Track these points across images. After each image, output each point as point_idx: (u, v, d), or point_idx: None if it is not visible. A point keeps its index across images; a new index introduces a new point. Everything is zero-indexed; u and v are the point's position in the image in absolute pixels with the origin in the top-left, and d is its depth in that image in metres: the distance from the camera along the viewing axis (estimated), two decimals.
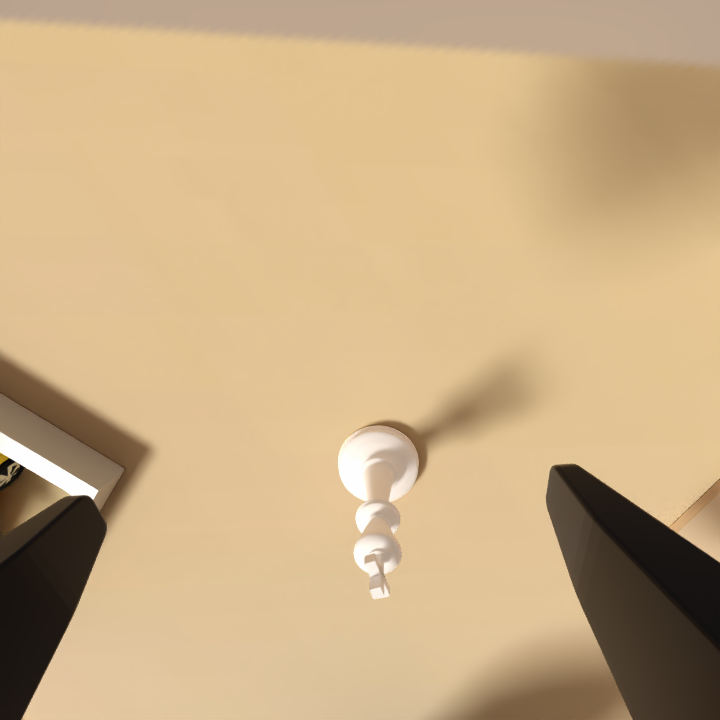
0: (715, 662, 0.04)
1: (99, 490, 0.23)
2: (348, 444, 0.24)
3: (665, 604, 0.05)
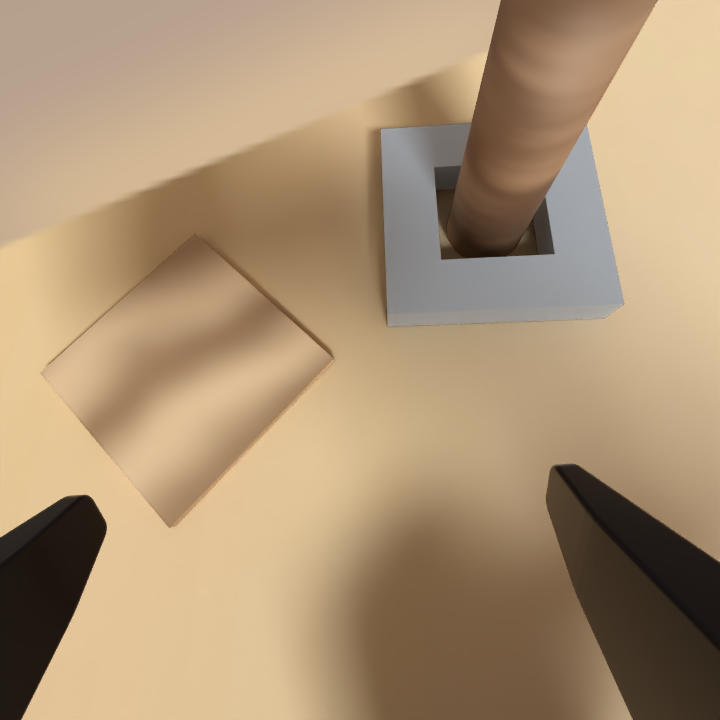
0: (715, 662, 0.04)
1: None
2: None
3: (665, 604, 0.05)
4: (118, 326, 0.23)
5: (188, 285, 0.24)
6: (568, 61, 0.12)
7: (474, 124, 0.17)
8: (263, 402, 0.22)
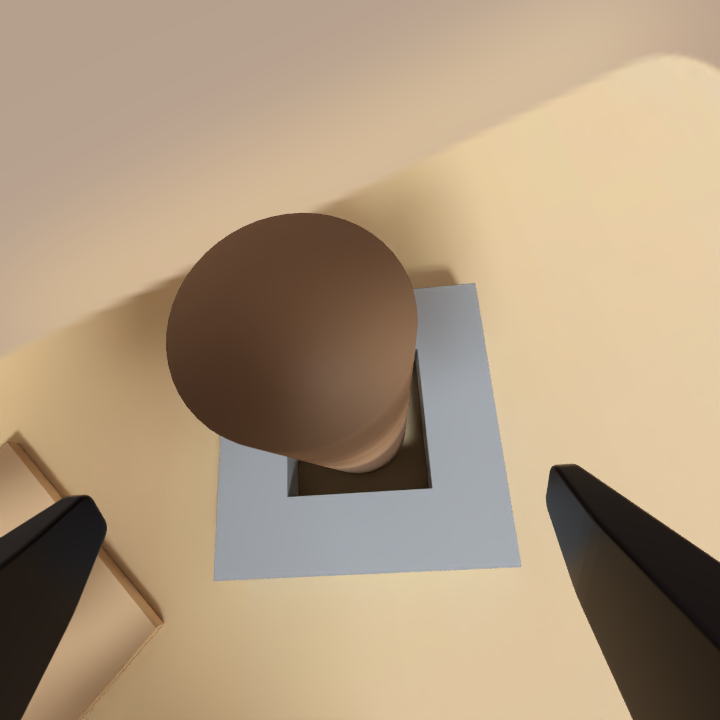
0: (715, 662, 0.04)
1: None
2: None
3: (665, 604, 0.05)
4: None
5: None
6: (280, 454, 0.07)
7: None
8: (61, 697, 0.16)
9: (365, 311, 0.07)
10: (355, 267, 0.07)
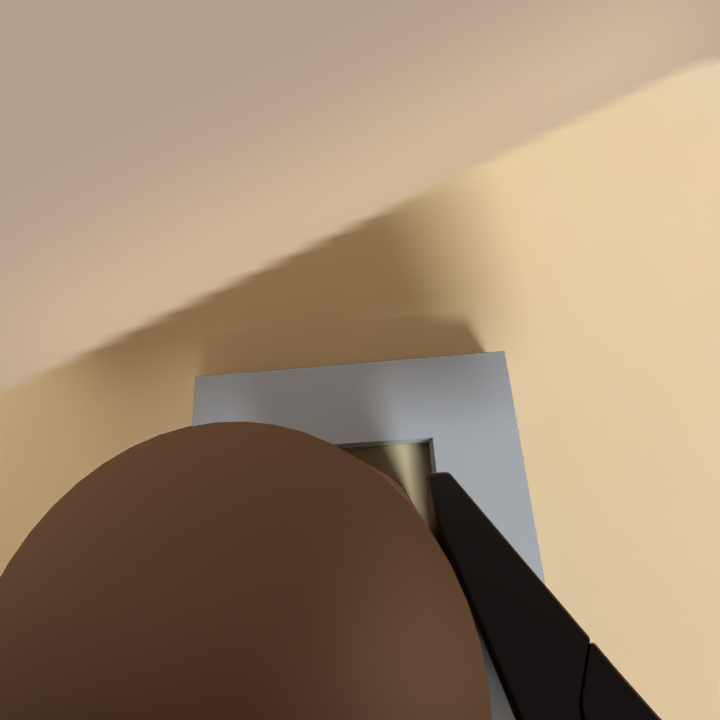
0: (489, 668, 0.04)
1: None
2: None
3: None
4: None
5: None
6: None
7: None
8: None
9: (375, 686, 0.03)
10: (352, 564, 0.03)
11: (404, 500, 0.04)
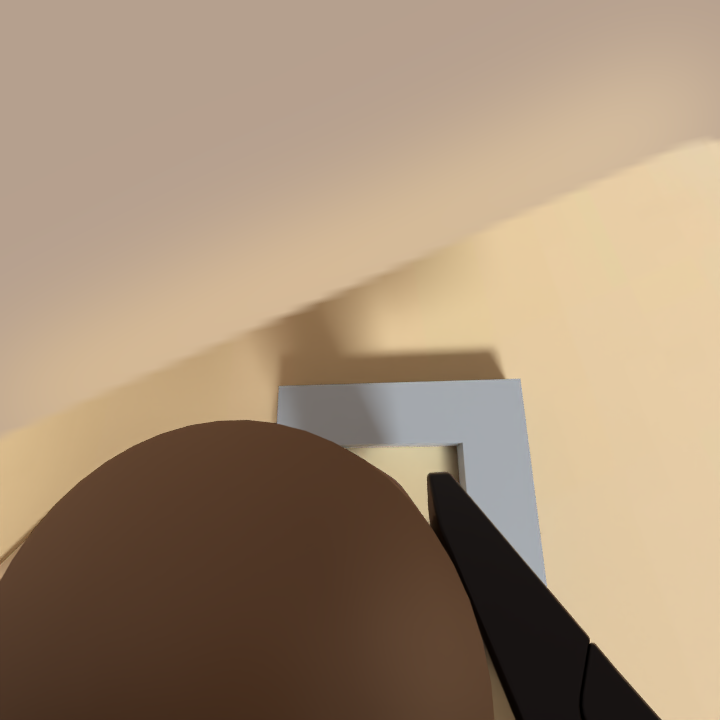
0: (488, 668, 0.04)
1: None
2: None
3: None
4: None
5: None
6: None
7: None
8: None
9: (378, 686, 0.03)
10: (354, 563, 0.03)
11: (406, 499, 0.04)
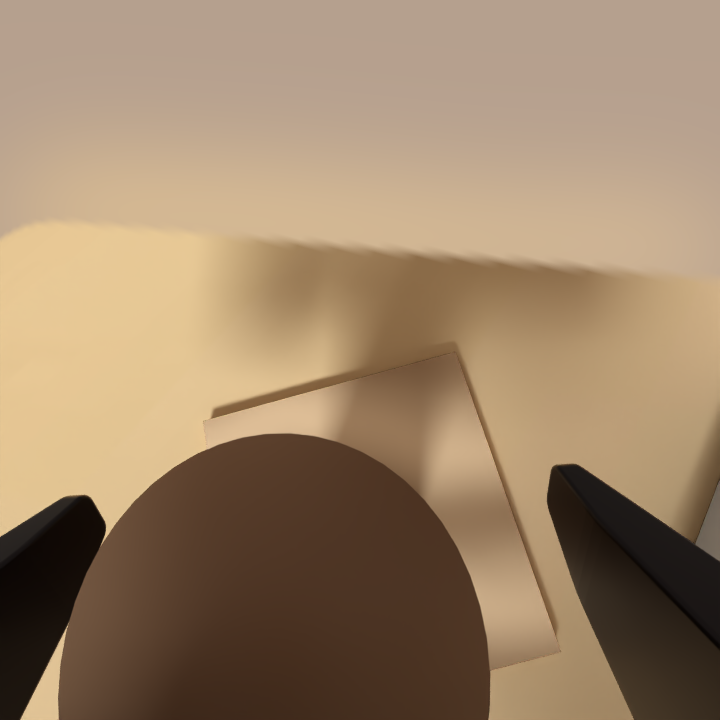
0: (716, 662, 0.04)
1: None
2: None
3: (666, 604, 0.05)
4: (310, 418, 0.18)
5: (416, 417, 0.18)
6: None
7: None
8: None
9: (399, 642, 0.04)
10: (379, 547, 0.04)
11: (420, 497, 0.04)
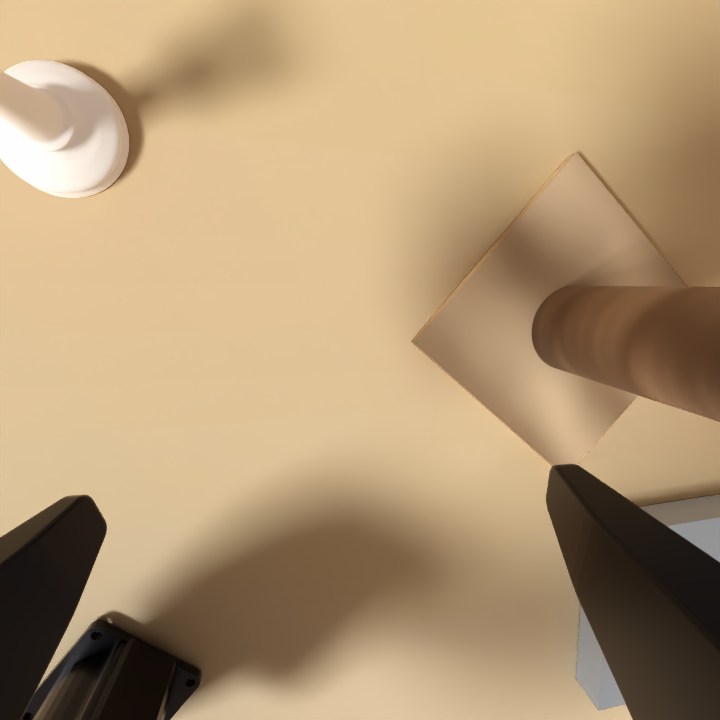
0: (715, 662, 0.04)
1: None
2: None
3: (665, 604, 0.05)
4: (619, 242, 0.20)
5: None
6: None
7: (702, 305, 0.13)
8: (529, 417, 0.21)
9: None
10: None
11: None
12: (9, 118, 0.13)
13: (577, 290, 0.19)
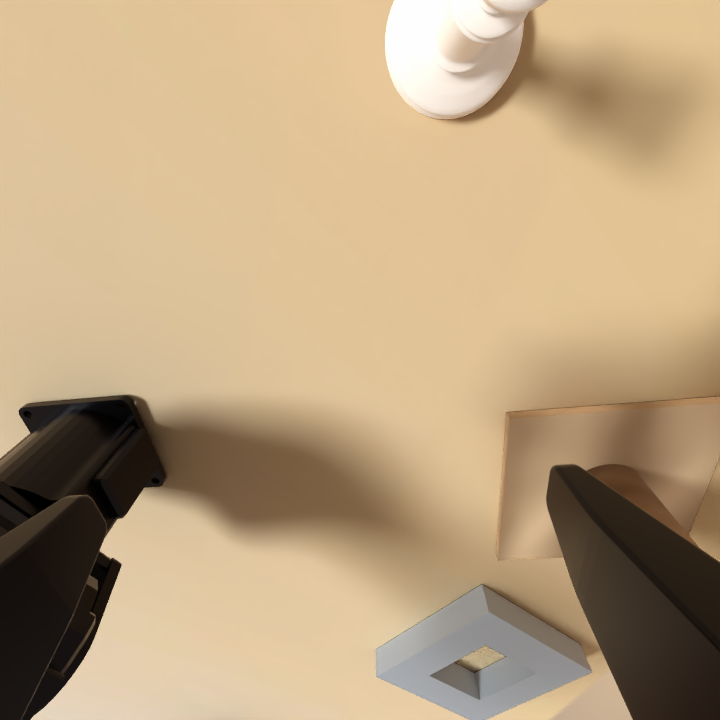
0: (715, 662, 0.04)
1: None
2: None
3: (665, 604, 0.05)
4: (691, 472, 0.23)
5: None
6: None
7: None
8: (519, 515, 0.25)
9: None
10: None
11: None
12: (455, 34, 0.12)
13: (640, 484, 0.22)
